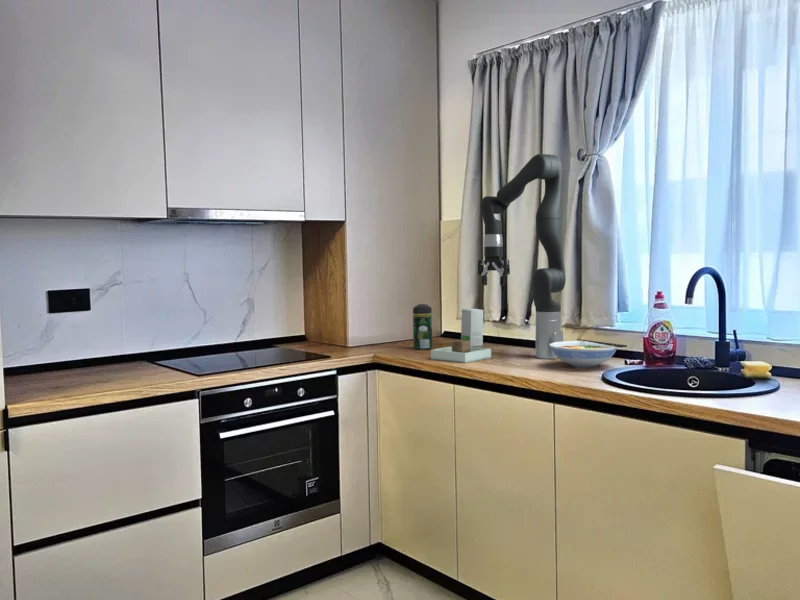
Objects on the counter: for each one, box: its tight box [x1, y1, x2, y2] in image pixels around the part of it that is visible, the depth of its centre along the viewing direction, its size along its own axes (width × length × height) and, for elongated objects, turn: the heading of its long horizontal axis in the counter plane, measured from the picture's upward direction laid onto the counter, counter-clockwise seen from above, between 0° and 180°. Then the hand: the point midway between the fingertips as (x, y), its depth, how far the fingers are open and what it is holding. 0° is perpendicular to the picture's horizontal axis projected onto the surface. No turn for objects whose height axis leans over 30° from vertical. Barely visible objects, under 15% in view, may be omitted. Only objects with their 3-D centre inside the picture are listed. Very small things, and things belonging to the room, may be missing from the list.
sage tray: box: [430, 345, 492, 364], centre depth 256 cm, size 16×16×4 cm
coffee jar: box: [412, 303, 433, 351], centre depth 286 cm, size 10×8×19 cm
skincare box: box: [460, 307, 484, 347], centre depth 294 cm, size 8×7×16 cm
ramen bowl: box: [550, 338, 628, 369], centre depth 234 cm, size 25×23×8 cm
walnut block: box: [451, 339, 471, 353], centre depth 256 cm, size 5×5×6 cm
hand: (493, 285), depth 281 cm, fingers open, 8 cm apart
